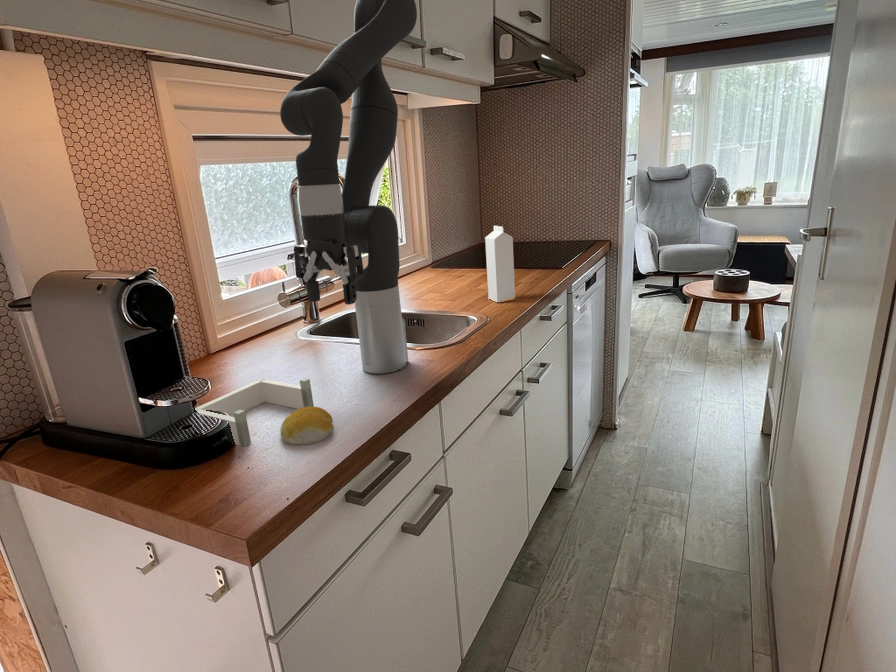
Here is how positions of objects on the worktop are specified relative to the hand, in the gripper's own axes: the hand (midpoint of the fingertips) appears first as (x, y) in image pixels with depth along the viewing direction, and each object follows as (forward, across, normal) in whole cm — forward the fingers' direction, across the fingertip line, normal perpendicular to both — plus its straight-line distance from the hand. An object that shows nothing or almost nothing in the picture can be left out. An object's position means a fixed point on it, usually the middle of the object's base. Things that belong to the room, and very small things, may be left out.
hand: (332, 302), depth 103 cm
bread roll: (+18, -7, +16) cm, 25 cm away
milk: (+15, +1, -74) cm, 75 cm away
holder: (+18, +5, +16) cm, 24 cm away
